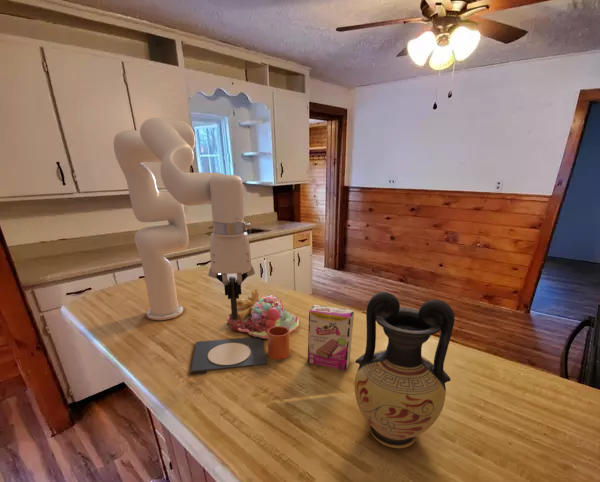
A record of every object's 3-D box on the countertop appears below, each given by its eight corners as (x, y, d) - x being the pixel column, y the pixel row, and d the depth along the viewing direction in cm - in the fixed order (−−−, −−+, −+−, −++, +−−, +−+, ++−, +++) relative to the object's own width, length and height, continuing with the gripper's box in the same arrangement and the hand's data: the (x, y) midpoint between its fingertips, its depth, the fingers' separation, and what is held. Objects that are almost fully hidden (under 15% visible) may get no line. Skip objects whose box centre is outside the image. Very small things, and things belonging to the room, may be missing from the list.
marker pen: (231, 320, 94) (228, 276, 88) (238, 320, 94) (235, 276, 89) (231, 323, 92) (228, 278, 87) (238, 323, 93) (235, 278, 87)
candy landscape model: (213, 327, 111) (211, 301, 108) (252, 305, 131) (252, 283, 128) (279, 343, 101) (279, 315, 98) (311, 317, 121) (311, 292, 118)
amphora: (431, 411, 76) (456, 286, 64) (443, 472, 61) (478, 323, 49) (353, 399, 79) (363, 278, 68) (345, 454, 64) (357, 311, 53)
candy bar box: (306, 364, 93) (307, 310, 86) (312, 355, 97) (313, 303, 91) (346, 372, 90) (350, 317, 83) (350, 363, 94) (354, 309, 88)
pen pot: (267, 351, 100) (266, 327, 96) (287, 349, 101) (287, 325, 98) (269, 362, 94) (268, 337, 91) (291, 360, 95) (291, 335, 92)
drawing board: (196, 344, 103) (195, 341, 102) (261, 338, 106) (261, 335, 106) (191, 374, 88) (190, 370, 88) (267, 366, 92) (266, 362, 92)
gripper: (259, 225, 88) (261, 290, 95) (197, 226, 85) (204, 293, 92) (262, 230, 81) (264, 300, 88) (194, 231, 78) (202, 304, 85)
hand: (233, 296), depth 90 cm, fingers closed on marker pen, 1 cm apart
